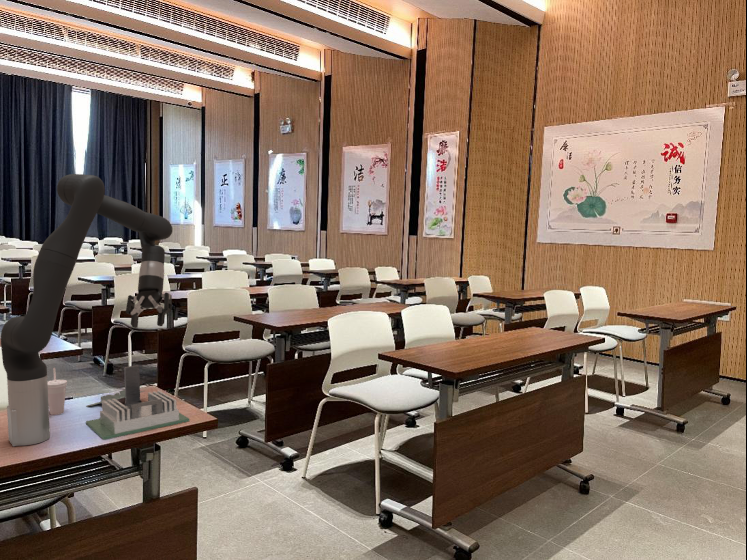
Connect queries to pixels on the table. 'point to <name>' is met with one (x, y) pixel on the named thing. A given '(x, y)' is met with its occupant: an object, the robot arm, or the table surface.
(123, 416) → the heatsink
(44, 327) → the robot arm
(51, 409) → the smoothie
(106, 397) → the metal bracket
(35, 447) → the table surface
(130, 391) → the dark gray rectangular plate
